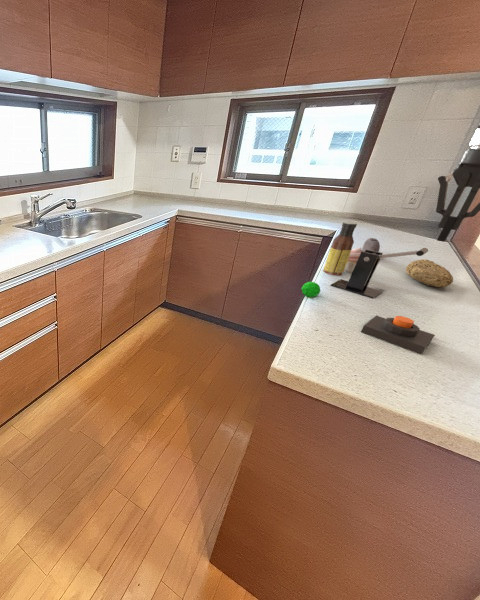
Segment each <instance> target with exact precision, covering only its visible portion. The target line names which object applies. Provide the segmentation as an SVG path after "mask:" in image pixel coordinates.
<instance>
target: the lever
mask: <svg viewBox="0 0 480 600" xmlns="http://www.w3.org/2000/svg"><path fill="white" fill-rule="evenodd" d="M428 252H429V249H428V248H427V247H422V248H421V249H419V250H411V251H410V250H409V251H402V252H392V253H383V254H382V255H379V256H378V258H380V259H386V258H394V257H405V256H414V255H416V256H417V257H422V256H424V255H425V254H427V253H428ZM372 254H376V253H372ZM378 258H377V259H378Z"/></svg>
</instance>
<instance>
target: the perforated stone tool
mask: <svg viewBox="0 0 480 600" xmlns="http://www.w3.org/2000/svg"><path fill="white" fill-rule="evenodd" d="M366 249H367V250H372V251H376V252H380V249H381V243H380V241H379V240H378V239H377V238H374V237H369V238H367V239H366V240H365V241H364V243H363V245H362V251H363V252H365V250H366Z"/></svg>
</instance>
